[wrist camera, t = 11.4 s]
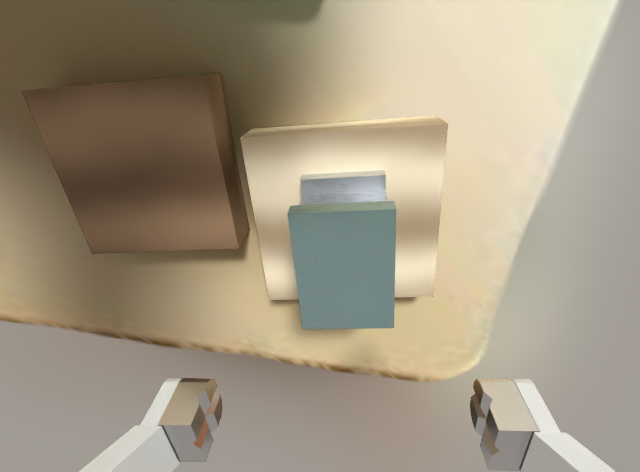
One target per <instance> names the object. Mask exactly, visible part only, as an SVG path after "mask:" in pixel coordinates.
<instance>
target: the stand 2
mask: <svg viewBox="0 0 640 472" xmlns="http://www.w3.org/2000/svg"><path fill="white" fill-rule="evenodd" d="M447 128H448V124H447V123H446V122H444V121H443V120H441V119H440V118H439V117H437V116H424V117H409V118H395V119H381V120H366V121H352V122H338V123H324V124H309V125H295V126H281V127H267V128H252V129H251V130H250V131H248V132H247V133H246V134H244V135H243V136H242V137H241V138H240V140H241V146H242V151H243V157H244V162H245V168H246V174H247V179H248V185H249V190H250V196H251V201H252V207H253V212H254V218H255V223H256V229H257V234H258V240H259V246H260V251H261V257H262V262H263V268H264V273H265V279H266V284H267V290H268V295H269V300H291V299H299V298H298V291H297V283H296V276H295V268H294V261H293V253H292V246H291V238H290V231H289V223H288V216H287V213H288V211H289V208H290V206H294V205H299V203H300V200H301V197H302V191H301V182H300V179H301V176H302V175H305V174H323V173H341V172H359V171H377V170H384V171H385V174H386V194H387V198H388V201H394V203H395V206H396V209H397V211H396V255H395V297H433V292H434V281H435V269H436V257H437V246H438V234H439V222H440V210H441V199H442V187H443V175H444V163H445V152H446V140H447Z"/></svg>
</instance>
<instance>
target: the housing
mask: <svg viewBox="0 0 640 472" xmlns="http://www.w3.org/2000/svg"><path fill="white" fill-rule="evenodd" d="M300 182H301V191H302V197H301V200H300V203H299V205H294V206H290V208H289V211H288V213H287V216H288V223H289V231H290V238H291V246H292V253H293V261H294V268H295V276H296V283H297V291H298V298H299V306H300V313H301V321H302V329H359V328H394V298H395V255H396V211H397V209H396V206H395V203H394V201H388V198H387V194H386V174H385V171H384V170H377V171H359V172H341V173H323V174H305V175H302V176H301V179H300Z"/></svg>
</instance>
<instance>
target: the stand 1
mask: <svg viewBox="0 0 640 472" xmlns="http://www.w3.org/2000/svg"><path fill="white" fill-rule="evenodd" d="M22 94H23V96H24V98H25V101H26V103H27V105H28V107H29V110H30V112H31V114H32V117H33V119H34V121H35V123H36V126H37V128H38V130H39V133H40V135H41V137H42V140H43V142H44V144H45V146H46V149H47V151H48V153H49V156H50V158H51V160H52V163H53V165H54V167H55V169H56V172H57V174H58V176H59V179H60V181H61V183H62V185H63V188H64V190H65V192H66V195H67V197H68V199H69V202H70V204H71V206H72V208H73V211H74V213H75V215H76V218H77V220H78V222H79V225H80V227H81V229H82V231H83V234H84V236H85V238H86V241H87V243H88V245H89V248H90V250H91V252H92V254H97V253H126V252H154V251H182V250H211V249H239V247H240V246H241V244H242V242H243V240H244V238H245V237H246V235H247V233H248V231H249V230H250V229H249V224H248V218H247V213H246V208H245V203H244V197H243V192H242V187H241V182H240V176H239V171H238V166H237V161H236V156H235V150H234V145H233V140H232V135H231V129H230V124H229V119H228V114H227V108H226V103H225V98H224V93H223V87H222V82H221V77H220V73H214V74H203V75H191V76H180V77H168V78H157V79H145V80H134V81H122V82H111V83H99V84H88V85H76V86H65V87H55V88H46V89H37V90H28V91H22Z"/></svg>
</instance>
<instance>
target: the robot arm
mask: <svg viewBox="0 0 640 472" xmlns="http://www.w3.org/2000/svg"><path fill="white" fill-rule="evenodd" d="M216 388H217V385H216V382H215V380H214V379H196V378H194V379H193V378H168V379H167V380H166V381H164V383H163V385H162V386H161V388H160V390H159V392H158V394H157V396H156V397H155V399H154V401H153V403H152V405H151V406H150V408H149V410H148V412H147V414H146V416H145V418H144V419H143V421H142V423H141V425H140V426H139V425H137V426H135V427H133V428H132V429H131V430H130V431H128V432H127V433H126V434H125V435H123V436H122V437H121V438H120V439H119V440H117V441H116V442H115V443H113V444H112V445H111V446H110V447H109V448H107V449H106V450H105V451H104V452H102V453H101V454H100V455H99V456H97V457H96V458H95V459H94V460H93V461H92V462H90V463H89V464H88V465H86V466H85V467H84V468H83V469H82V470H80V471H79V472H172V471H173V470H174V469H175V468H176V467H177V466H178V465H179V462H206V460H207V457H208V454H209V451H210V449H211V445H212V443H213V437H212V434H211V432H212V431H213V430H214V429H215V428H216V427H217V426H218V425H219V422H220V418H221V413H222V399H221V396H220V395H219V394H218V393H217V392H215V390H216ZM473 388H474V391H475V394H474V395H473V396H472V397H471V402H470V410H471V417H472V422H473V425H474V428H475V430H476V431H477V432H478V433H479V434H480V435H481V436H482V440H481V444H480V446H481V449H482V452H483V455H484V458H485V461H486V464H487V467H488V469H491V470H509V471H520V472H615V471H614V470H613V469H612V468H610V467H609V466H608V465H607V464H605V463H604V462H603V461H602V460H600V459H599V458H598V457H597V456H595V455H594V454H593V453H591V452H590V451H589V450H588V449H586V448H585V447H584V446H583V445H581V444H580V443H579V442H578V441H576V440H575V439H574V438H573V437H571V436H570V435H569V434H567V433H561V432H560V430H559V428H558V427H557V425H556V423H555V421H554V419H553V417H552V416H551V414H550V412H549V410H548V408H547V407H546V405H545V403H544V401H543V400H542V398H541V396H540V394H539V392H538V390H537V389H536V387H535V385H534V384H533V382H532V381H531V380H530V379H476V380H475V381H474V386H473Z"/></svg>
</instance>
